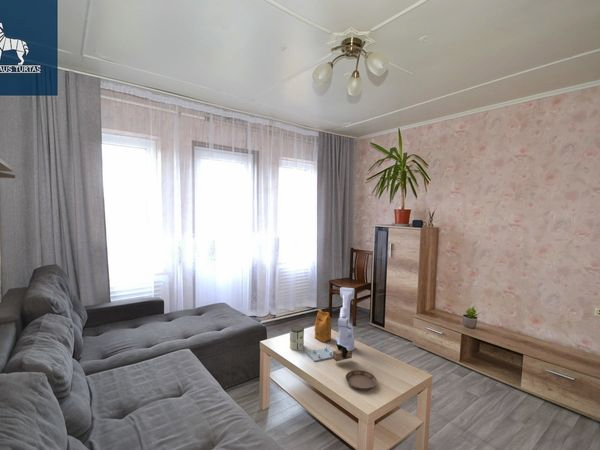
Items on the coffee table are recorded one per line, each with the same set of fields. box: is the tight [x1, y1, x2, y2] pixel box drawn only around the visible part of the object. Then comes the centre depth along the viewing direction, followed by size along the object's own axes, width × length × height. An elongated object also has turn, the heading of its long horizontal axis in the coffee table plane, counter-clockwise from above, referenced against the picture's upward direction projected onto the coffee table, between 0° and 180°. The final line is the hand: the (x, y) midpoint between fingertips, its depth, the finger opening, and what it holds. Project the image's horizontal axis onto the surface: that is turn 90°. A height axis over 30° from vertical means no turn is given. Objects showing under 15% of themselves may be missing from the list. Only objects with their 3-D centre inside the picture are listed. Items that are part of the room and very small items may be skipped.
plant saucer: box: [345, 369, 378, 392], centre depth 162 cm, size 18×18×3 cm
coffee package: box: [314, 309, 333, 343], centre depth 217 cm, size 10×12×22 cm
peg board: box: [306, 345, 334, 363], centre depth 192 cm, size 18×12×4 cm, turn 113°
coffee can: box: [289, 324, 305, 351], centre depth 203 cm, size 10×10×14 cm
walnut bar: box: [332, 349, 353, 363], centre depth 183 cm, size 12×4×5 cm, turn 113°
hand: (342, 356), depth 183 cm, fingers closed on walnut bar, 4 cm apart
